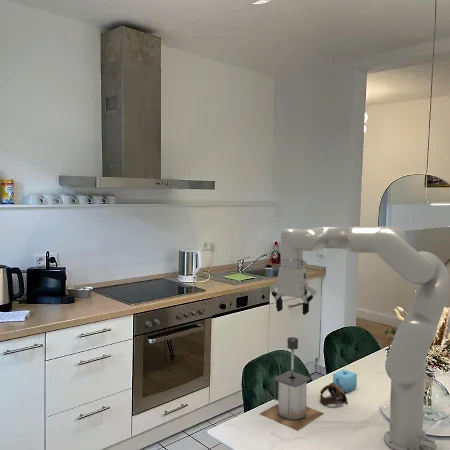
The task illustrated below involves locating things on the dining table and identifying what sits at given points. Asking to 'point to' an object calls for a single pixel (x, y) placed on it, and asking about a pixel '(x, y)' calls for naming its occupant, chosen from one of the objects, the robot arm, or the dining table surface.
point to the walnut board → (296, 425)
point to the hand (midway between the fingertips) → (292, 312)
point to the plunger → (292, 351)
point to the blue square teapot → (345, 380)
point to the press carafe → (291, 395)
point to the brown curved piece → (332, 395)
